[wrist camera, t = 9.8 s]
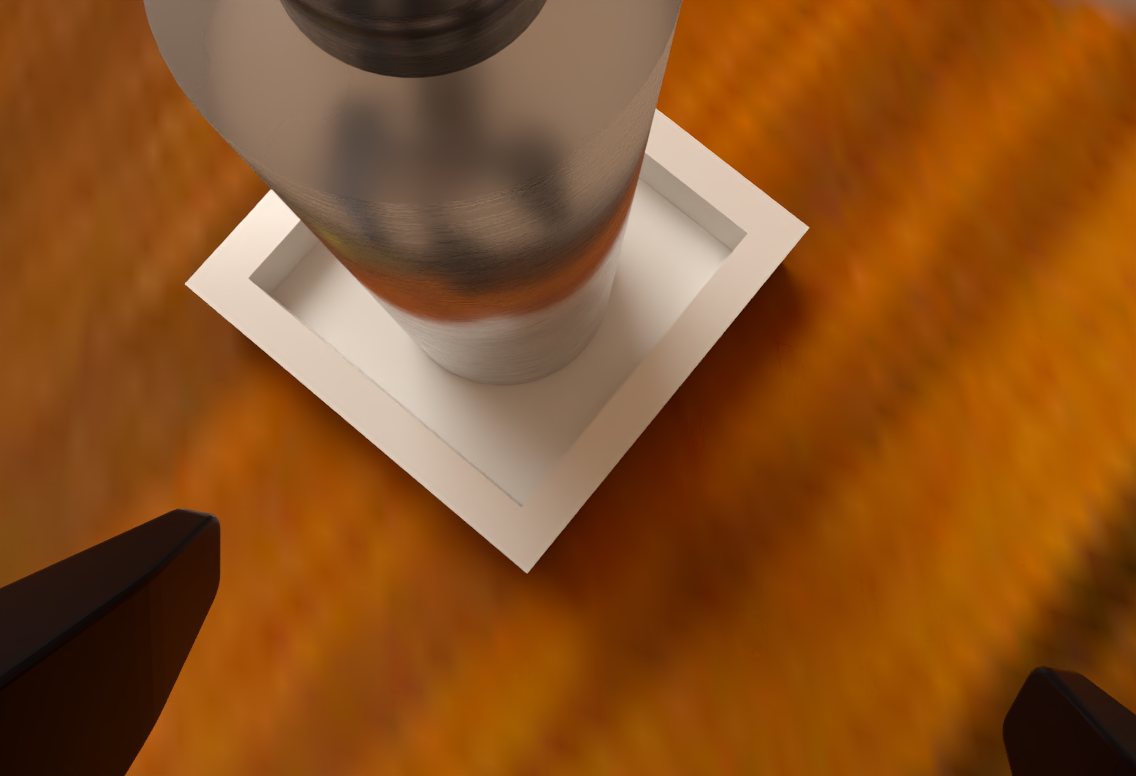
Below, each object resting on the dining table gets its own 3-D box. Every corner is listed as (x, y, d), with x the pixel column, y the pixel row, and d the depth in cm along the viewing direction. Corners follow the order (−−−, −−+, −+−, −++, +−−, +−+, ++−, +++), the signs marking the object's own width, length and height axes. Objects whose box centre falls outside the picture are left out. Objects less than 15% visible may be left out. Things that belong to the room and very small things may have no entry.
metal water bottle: (473, 427, 20) (294, 284, 6) (355, 252, 20) (-39, -218, 7) (652, 307, 20) (833, -64, 7) (532, 138, 21) (482, -513, 7)
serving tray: (531, 564, 20) (527, 574, 18) (228, 309, 21) (184, 284, 19) (780, 258, 21) (809, 228, 19) (483, 26, 22) (474, -34, 20)
